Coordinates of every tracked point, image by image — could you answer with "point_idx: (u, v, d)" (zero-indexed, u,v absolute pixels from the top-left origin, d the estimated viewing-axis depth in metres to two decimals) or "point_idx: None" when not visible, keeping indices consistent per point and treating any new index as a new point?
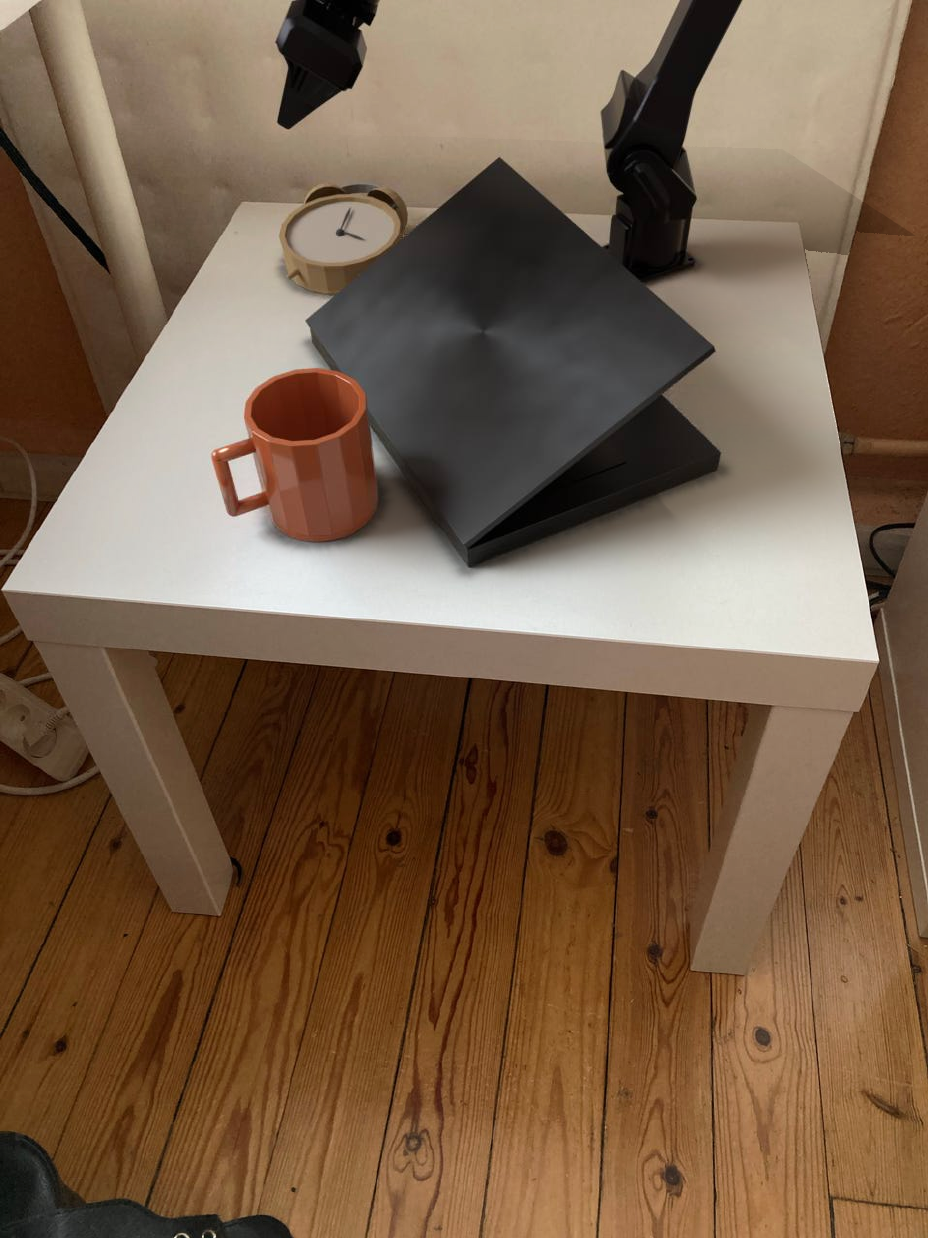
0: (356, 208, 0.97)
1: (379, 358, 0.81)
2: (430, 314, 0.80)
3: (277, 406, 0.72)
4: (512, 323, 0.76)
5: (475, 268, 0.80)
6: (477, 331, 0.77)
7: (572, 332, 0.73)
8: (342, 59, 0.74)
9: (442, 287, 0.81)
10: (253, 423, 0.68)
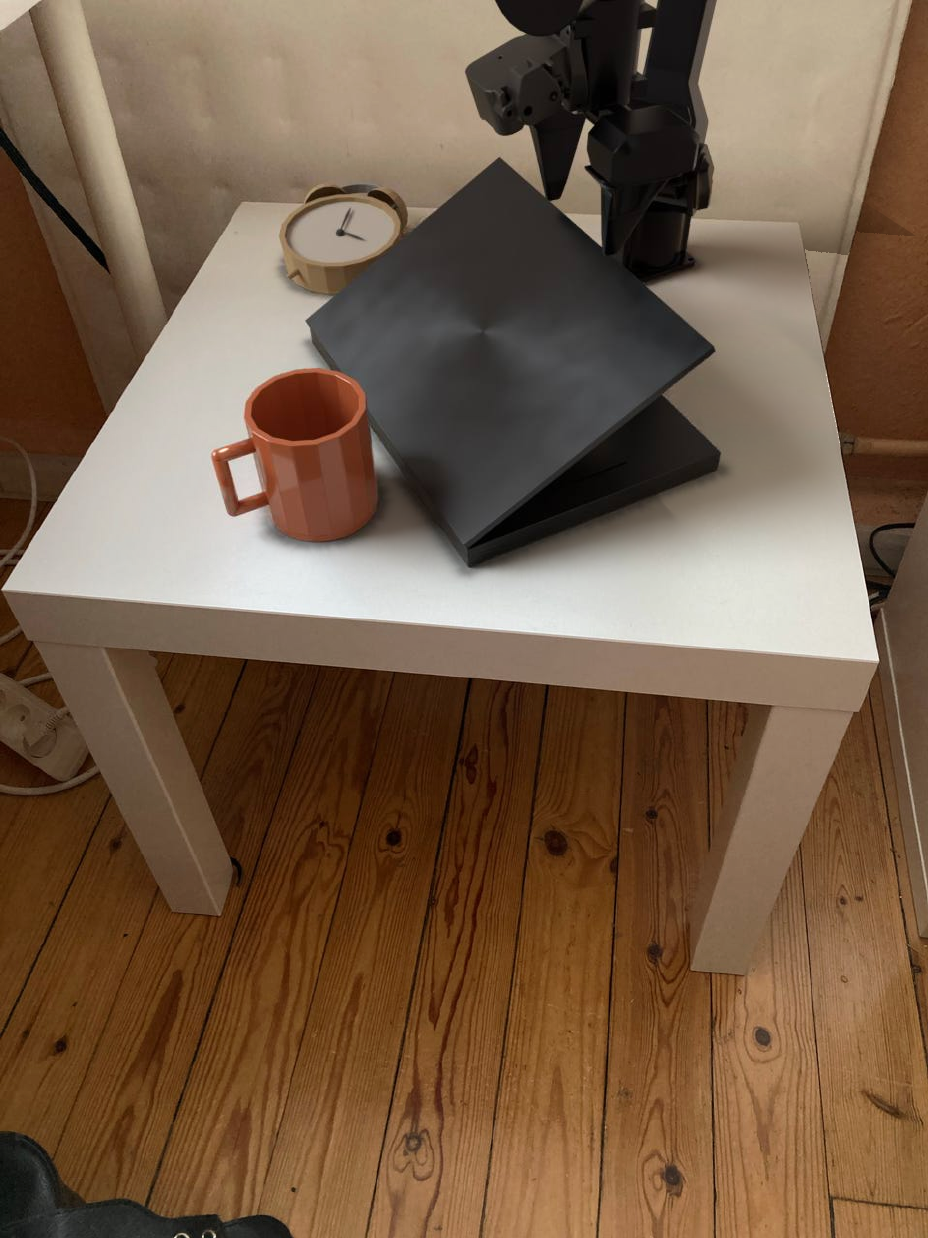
0: (356, 208, 0.97)
1: (379, 358, 0.81)
2: (430, 314, 0.80)
3: (277, 406, 0.72)
4: (512, 323, 0.76)
5: (475, 268, 0.80)
6: (477, 331, 0.77)
7: (572, 332, 0.73)
8: (683, 145, 0.63)
9: (442, 287, 0.81)
10: (253, 423, 0.68)
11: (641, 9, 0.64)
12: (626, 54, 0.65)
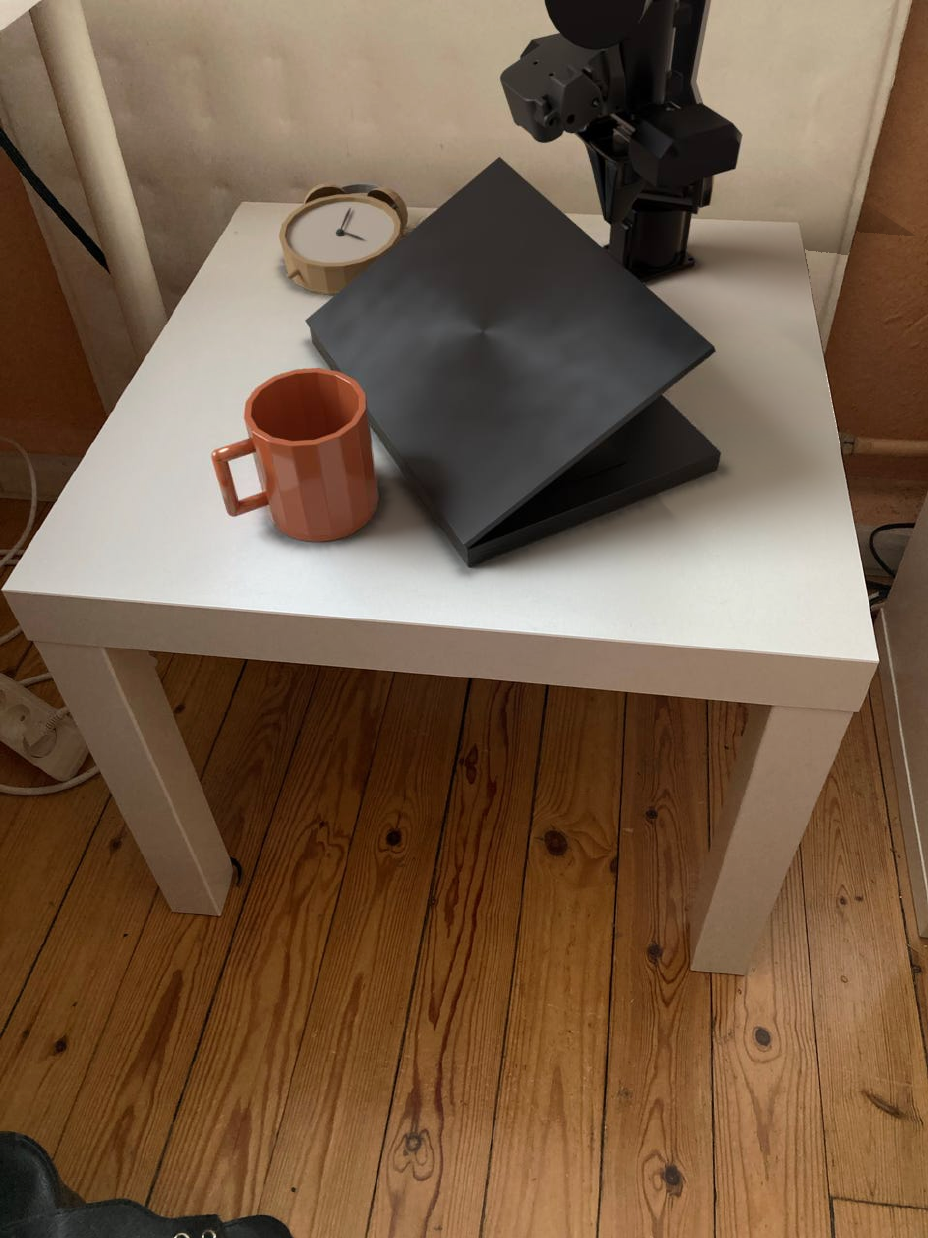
0: (356, 208, 0.97)
1: (379, 358, 0.81)
2: (430, 314, 0.80)
3: (277, 406, 0.72)
4: (512, 323, 0.76)
5: (475, 268, 0.80)
6: (477, 331, 0.77)
7: (572, 332, 0.73)
8: (727, 145, 0.63)
9: (442, 287, 0.81)
10: (253, 423, 0.68)
11: (676, 7, 0.63)
12: (662, 53, 0.64)
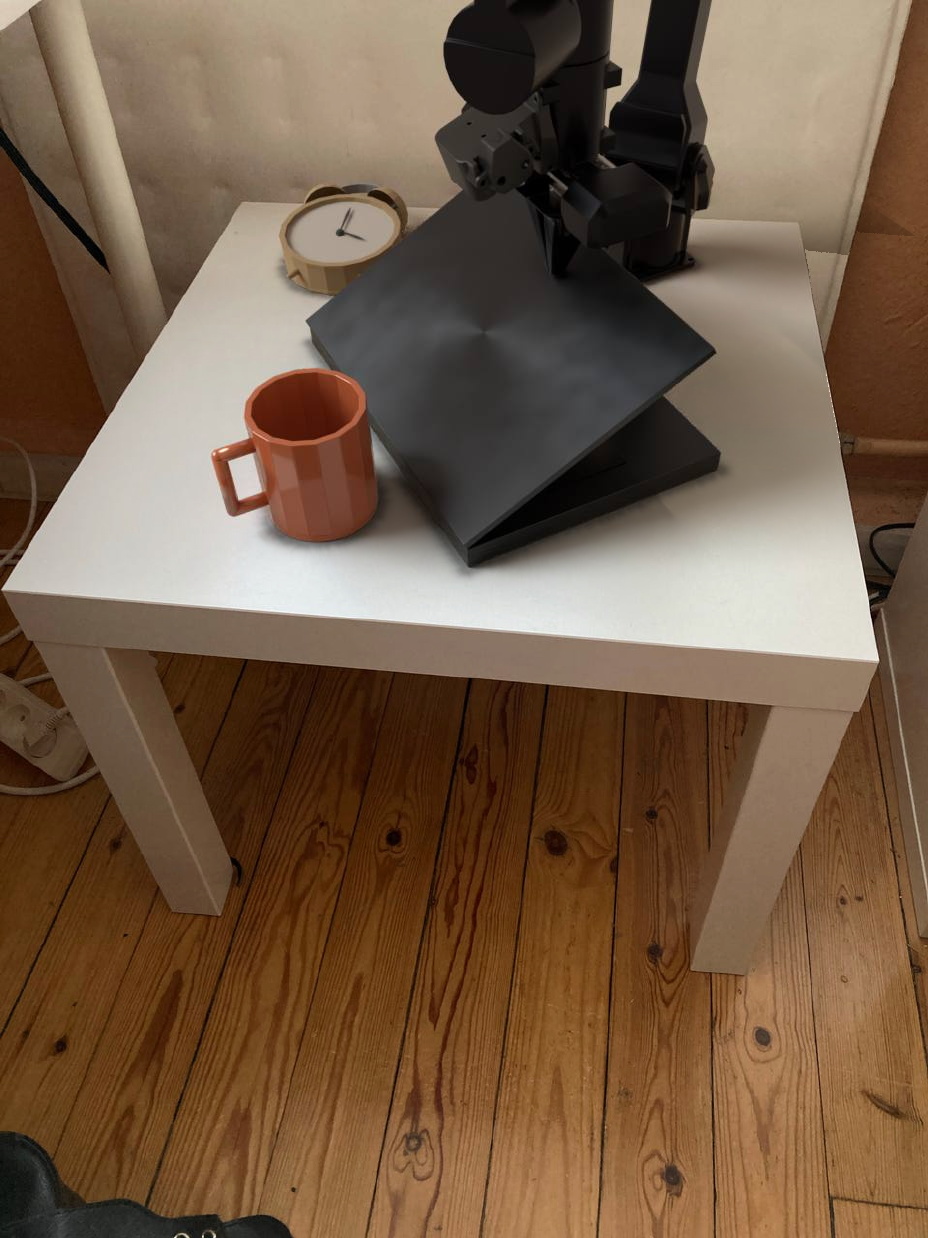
0: (356, 208, 0.97)
1: (379, 358, 0.81)
2: (431, 315, 0.80)
3: (277, 406, 0.72)
4: (513, 324, 0.76)
5: (476, 269, 0.80)
6: (478, 332, 0.77)
7: (573, 333, 0.73)
8: (656, 206, 0.64)
9: (443, 288, 0.81)
10: (253, 423, 0.68)
11: (606, 70, 0.64)
12: (593, 114, 0.65)
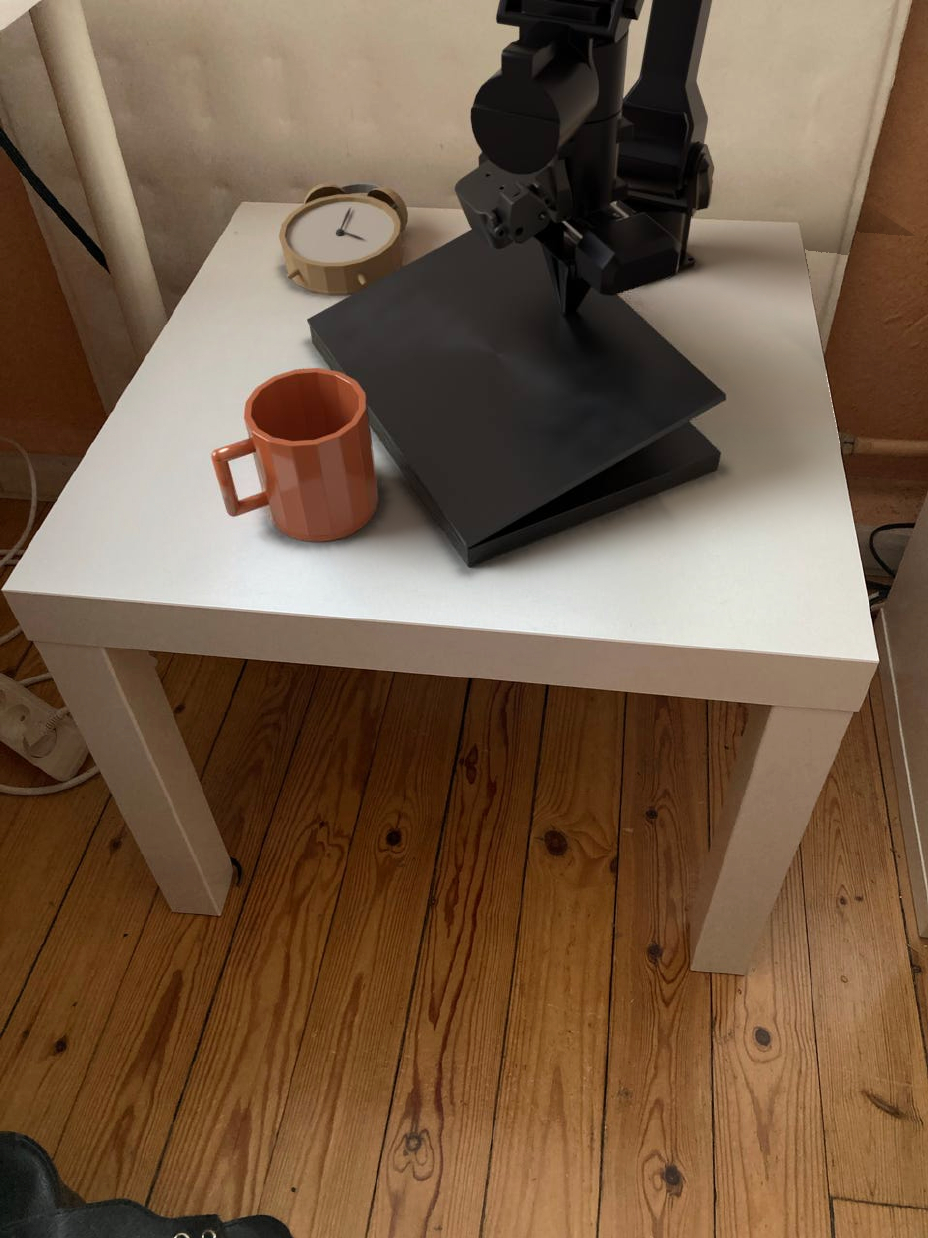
0: (356, 208, 0.97)
1: (384, 363, 0.81)
2: (441, 330, 0.82)
3: (277, 406, 0.72)
4: (525, 349, 0.78)
5: (489, 296, 0.83)
6: (489, 352, 0.79)
7: (586, 365, 0.76)
8: (666, 255, 0.67)
9: (454, 308, 0.83)
10: (253, 423, 0.68)
11: (619, 125, 0.67)
12: (606, 167, 0.68)
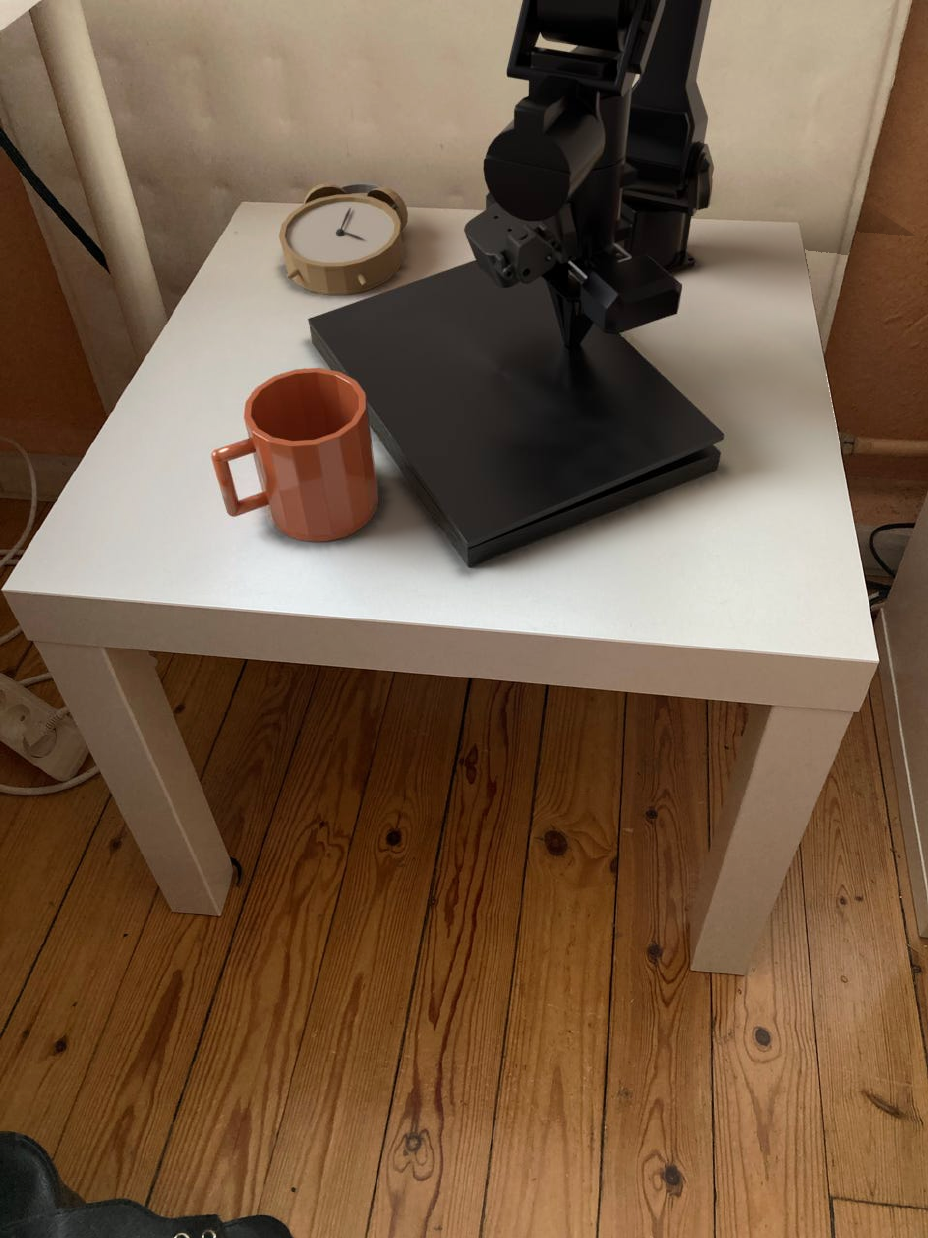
0: (356, 208, 0.97)
1: (387, 368, 0.82)
2: (445, 345, 0.83)
3: (277, 406, 0.72)
4: (530, 372, 0.80)
5: (495, 320, 0.85)
6: (494, 370, 0.81)
7: (590, 393, 0.78)
8: (668, 295, 0.70)
9: (460, 327, 0.84)
10: (253, 423, 0.68)
11: (622, 171, 0.70)
12: (610, 210, 0.71)
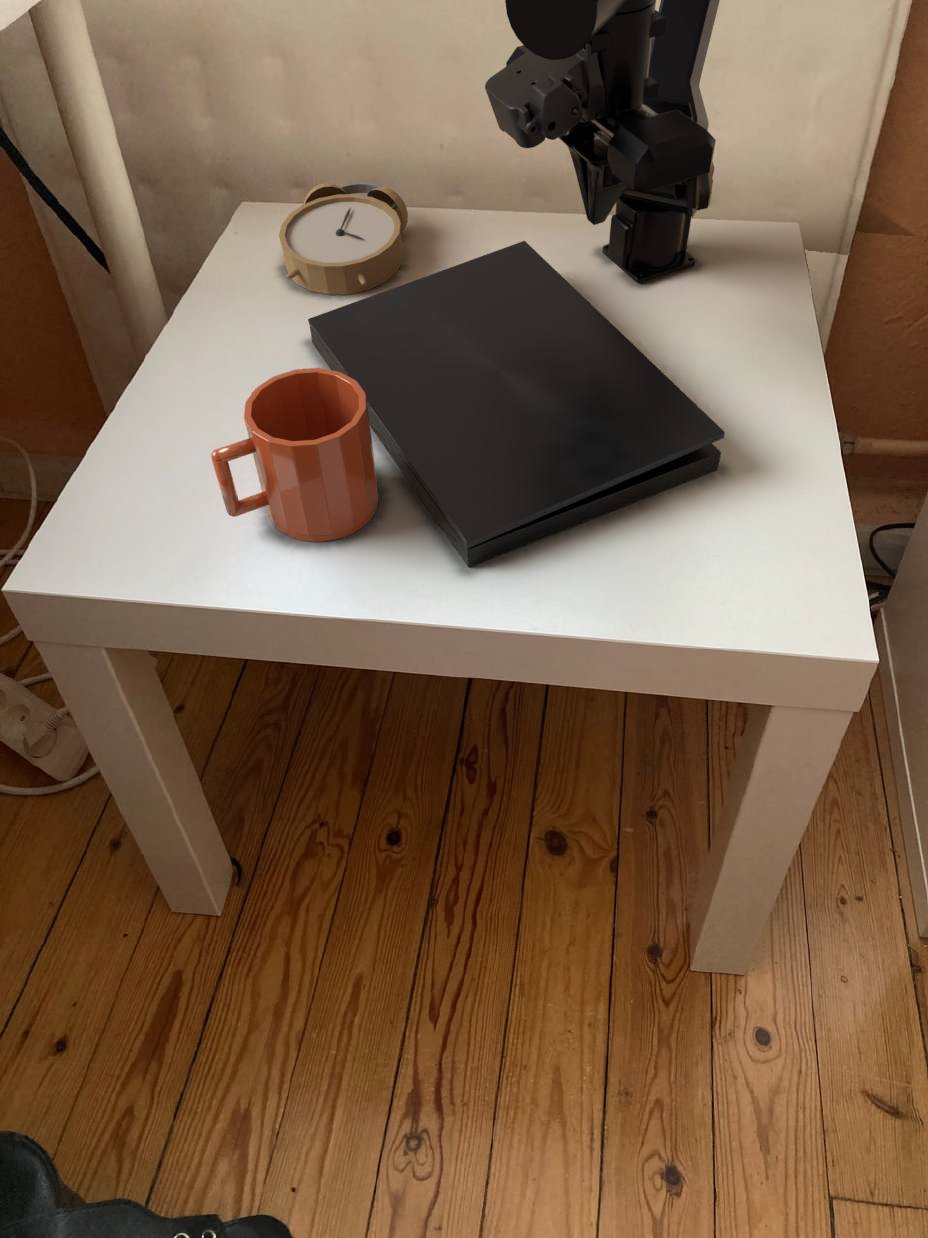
0: (356, 208, 0.97)
1: (387, 368, 0.82)
2: (445, 344, 0.83)
3: (277, 406, 0.72)
4: (530, 371, 0.80)
5: (495, 319, 0.84)
6: (493, 369, 0.80)
7: (590, 391, 0.78)
8: (701, 150, 0.66)
9: (459, 326, 0.84)
10: (253, 423, 0.68)
11: (652, 18, 0.66)
12: (639, 62, 0.67)
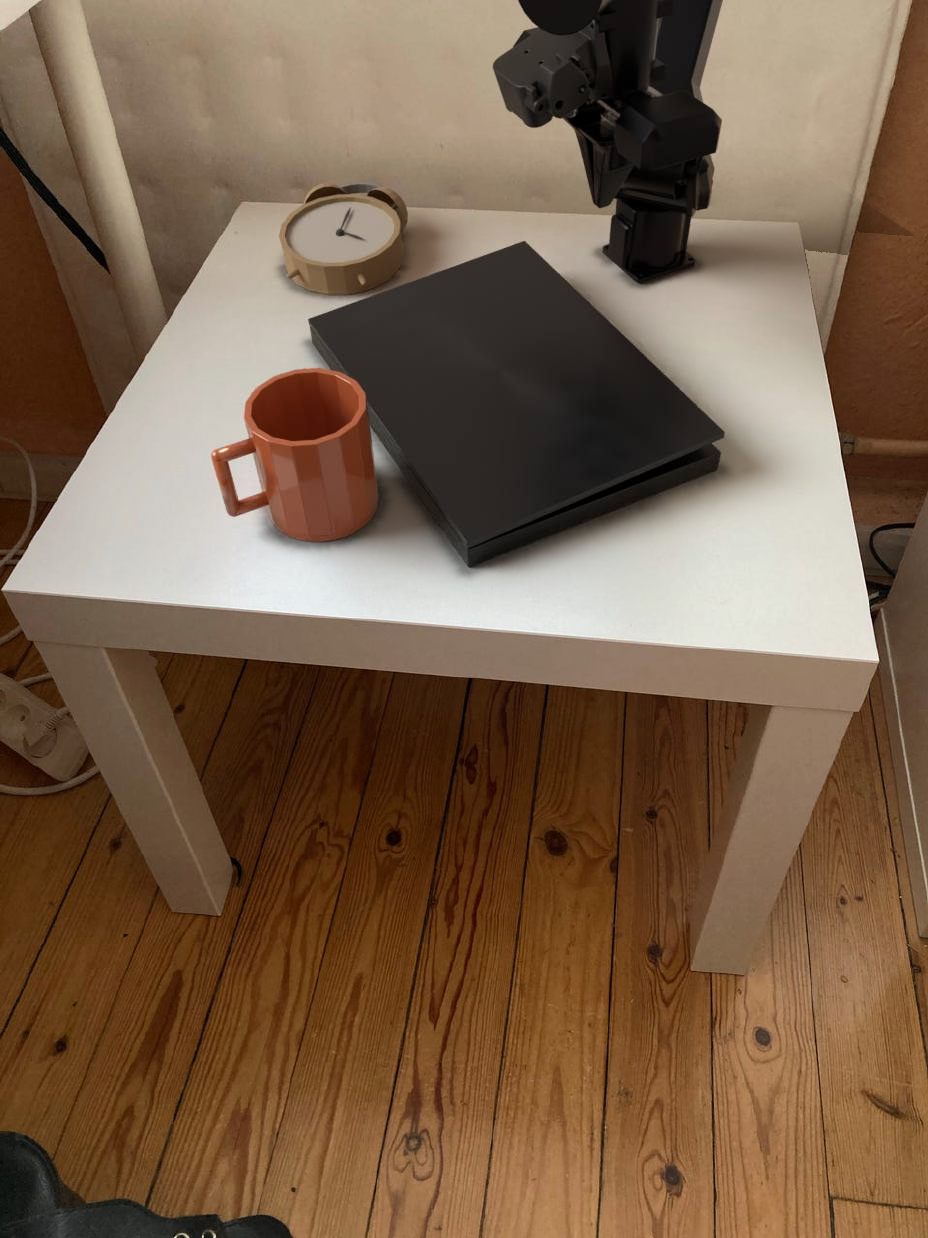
0: (356, 208, 0.97)
1: (387, 368, 0.82)
2: (445, 344, 0.83)
3: (277, 406, 0.72)
4: (530, 371, 0.80)
5: (495, 319, 0.84)
6: (493, 369, 0.80)
7: (590, 391, 0.78)
8: (707, 129, 0.67)
9: (459, 326, 0.84)
10: (253, 423, 0.68)
11: None
12: (646, 43, 0.68)
